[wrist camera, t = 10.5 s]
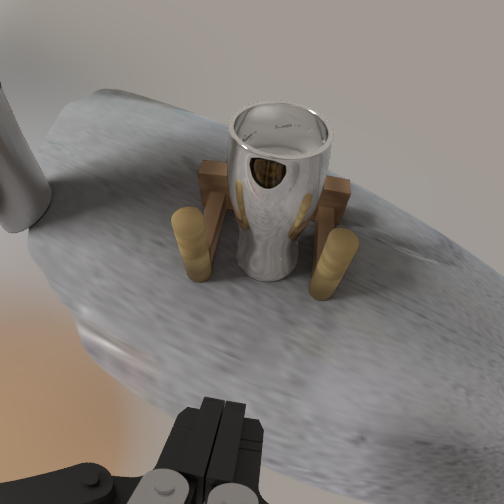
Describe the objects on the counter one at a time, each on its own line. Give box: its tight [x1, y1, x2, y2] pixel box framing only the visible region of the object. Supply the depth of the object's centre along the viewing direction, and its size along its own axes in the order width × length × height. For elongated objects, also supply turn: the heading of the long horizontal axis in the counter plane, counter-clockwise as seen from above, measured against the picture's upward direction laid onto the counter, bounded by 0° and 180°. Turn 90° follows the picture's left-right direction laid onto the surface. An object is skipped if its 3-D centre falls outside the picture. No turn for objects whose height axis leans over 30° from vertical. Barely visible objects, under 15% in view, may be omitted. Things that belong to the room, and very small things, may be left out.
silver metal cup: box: [227, 100, 334, 282], centre depth 24 cm, size 7×7×15 cm
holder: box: [171, 160, 359, 301], centre depth 28 cm, size 15×11×8 cm
